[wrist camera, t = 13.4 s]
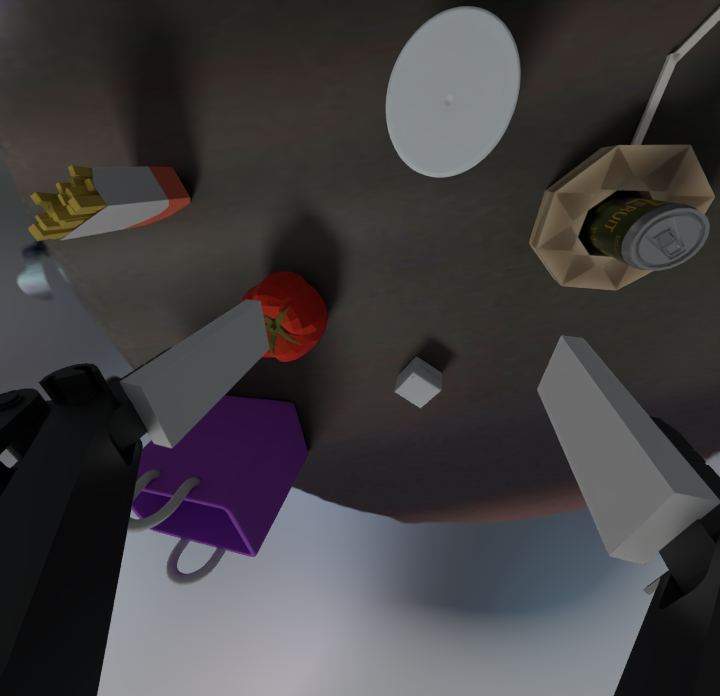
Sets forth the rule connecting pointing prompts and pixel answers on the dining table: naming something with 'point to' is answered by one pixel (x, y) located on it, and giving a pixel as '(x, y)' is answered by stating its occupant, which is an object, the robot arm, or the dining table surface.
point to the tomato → (290, 314)
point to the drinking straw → (666, 74)
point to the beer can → (645, 231)
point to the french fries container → (108, 201)
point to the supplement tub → (453, 91)
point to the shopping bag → (221, 480)
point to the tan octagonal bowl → (595, 183)
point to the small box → (419, 382)
